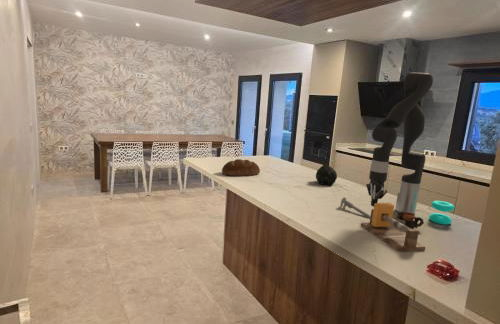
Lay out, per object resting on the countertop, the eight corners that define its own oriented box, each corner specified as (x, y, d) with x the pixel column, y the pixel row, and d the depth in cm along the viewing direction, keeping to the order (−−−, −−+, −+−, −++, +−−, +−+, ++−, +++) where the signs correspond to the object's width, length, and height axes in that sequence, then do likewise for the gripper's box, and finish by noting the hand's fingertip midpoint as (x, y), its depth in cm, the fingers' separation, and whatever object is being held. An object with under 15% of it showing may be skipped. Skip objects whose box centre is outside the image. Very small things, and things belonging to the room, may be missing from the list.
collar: (371, 224, 144) (374, 203, 142) (386, 223, 146) (389, 203, 144) (375, 226, 141) (378, 205, 139) (390, 226, 143) (394, 205, 141)
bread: (218, 172, 236) (219, 157, 234) (254, 171, 248) (255, 157, 246) (226, 177, 222) (227, 161, 220) (263, 176, 234) (264, 161, 232)
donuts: (459, 207, 154) (437, 205, 155) (455, 226, 156) (433, 224, 157) (448, 201, 164) (428, 199, 165) (445, 219, 166) (425, 217, 167)
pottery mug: (393, 228, 149) (393, 211, 152) (399, 232, 156) (398, 215, 159) (422, 229, 142) (421, 211, 144) (426, 233, 148) (425, 216, 151)
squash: (338, 175, 230) (326, 158, 228) (342, 180, 215) (329, 163, 213) (322, 186, 233) (310, 170, 231) (325, 192, 218) (312, 175, 216)
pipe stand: (361, 225, 148) (363, 208, 146) (383, 224, 151) (385, 208, 149) (399, 251, 123) (402, 231, 122) (424, 250, 126) (428, 230, 125)
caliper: (339, 207, 174) (341, 196, 173) (341, 207, 174) (342, 196, 173) (372, 219, 158) (374, 208, 156) (373, 219, 158) (375, 207, 157)
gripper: (395, 173, 140) (389, 210, 143) (377, 167, 152) (372, 201, 156) (380, 173, 138) (375, 211, 141) (363, 167, 151) (358, 201, 154)
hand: (373, 206), depth 148 cm, fingers closed
